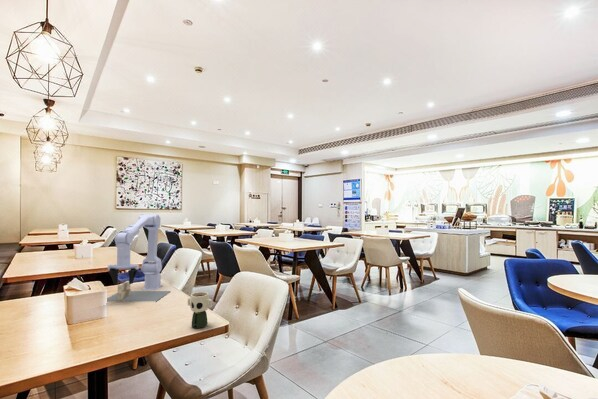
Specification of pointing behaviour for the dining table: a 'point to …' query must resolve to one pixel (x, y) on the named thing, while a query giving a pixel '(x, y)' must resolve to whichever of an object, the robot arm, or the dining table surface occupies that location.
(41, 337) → the dining table surface
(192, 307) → the character mug
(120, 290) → the birch tile
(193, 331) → the dining table surface
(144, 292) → the rubber mat
